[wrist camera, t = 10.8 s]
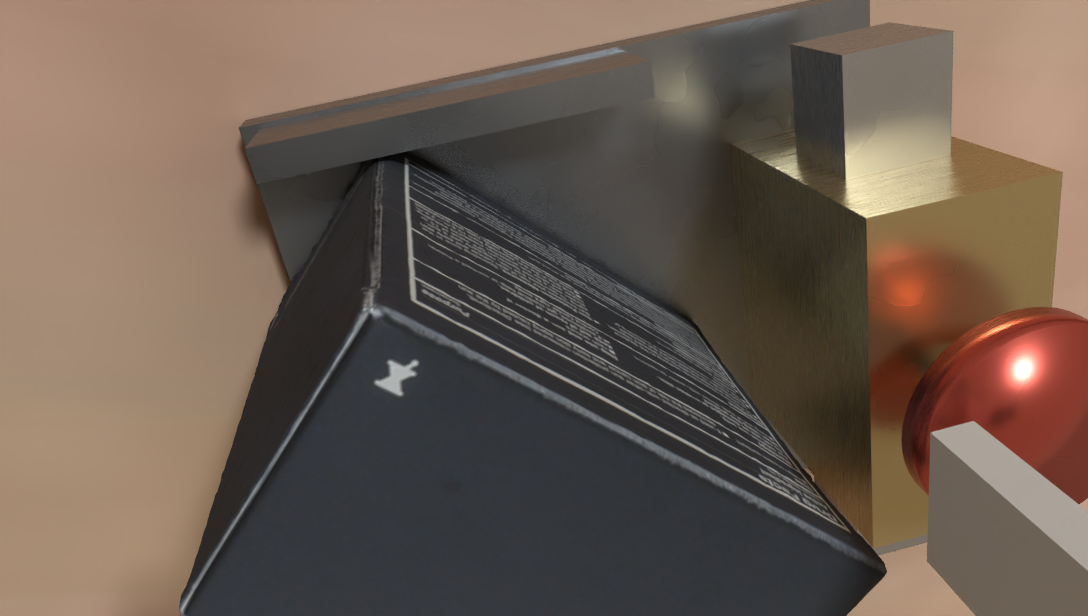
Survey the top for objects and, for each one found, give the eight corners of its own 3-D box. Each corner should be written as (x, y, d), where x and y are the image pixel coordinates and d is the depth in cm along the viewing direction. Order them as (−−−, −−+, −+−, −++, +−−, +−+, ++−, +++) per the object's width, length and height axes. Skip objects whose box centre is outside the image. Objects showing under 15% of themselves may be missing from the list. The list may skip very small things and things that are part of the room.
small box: (254, 339, 22) (146, 634, 12) (378, 127, 20) (363, 277, 11) (578, 491, 25) (688, 811, 16) (704, 322, 24) (910, 564, 14)
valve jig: (389, 554, 26) (386, 881, 17) (245, 120, 21) (122, 254, 11) (866, 431, 28) (1108, 673, 18) (856, -10, 22) (1201, 14, 13)
